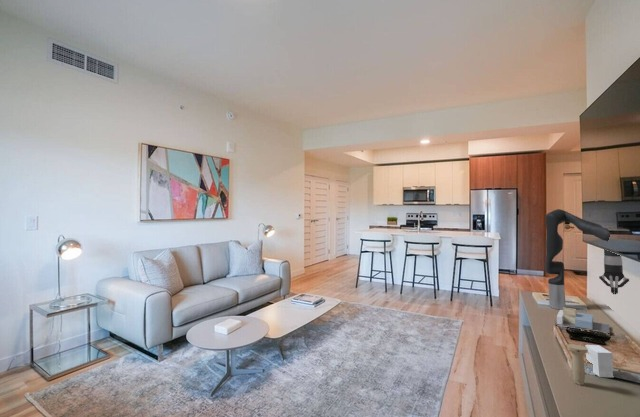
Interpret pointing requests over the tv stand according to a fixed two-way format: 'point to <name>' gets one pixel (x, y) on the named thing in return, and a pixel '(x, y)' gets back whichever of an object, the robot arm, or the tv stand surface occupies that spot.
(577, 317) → the vise jaw
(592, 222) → the robot arm
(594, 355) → the small box
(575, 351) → the handle
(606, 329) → the panel
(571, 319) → the birch block
